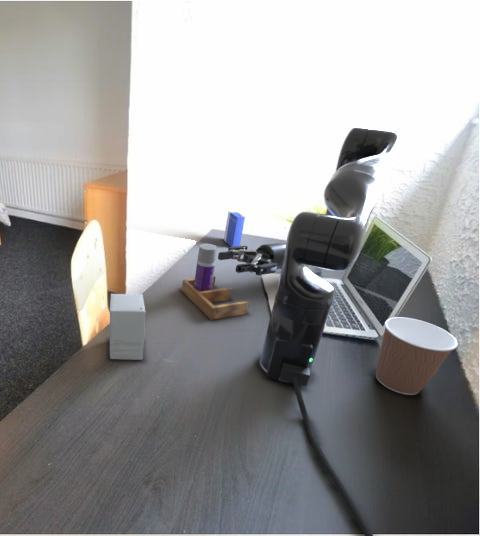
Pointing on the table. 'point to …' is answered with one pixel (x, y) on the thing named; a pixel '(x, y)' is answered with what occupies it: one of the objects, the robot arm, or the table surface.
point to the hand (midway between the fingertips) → (227, 262)
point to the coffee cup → (411, 354)
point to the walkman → (234, 228)
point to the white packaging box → (127, 326)
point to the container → (205, 267)
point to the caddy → (213, 300)
